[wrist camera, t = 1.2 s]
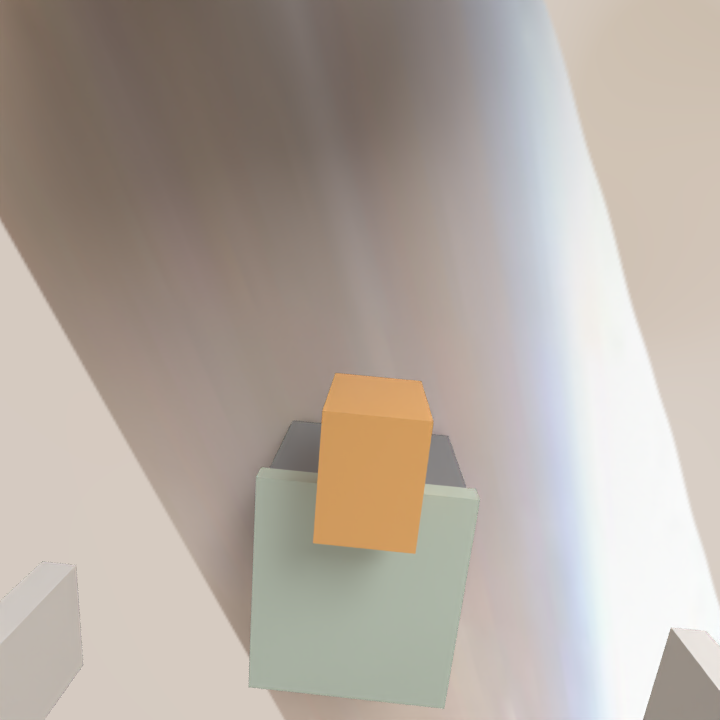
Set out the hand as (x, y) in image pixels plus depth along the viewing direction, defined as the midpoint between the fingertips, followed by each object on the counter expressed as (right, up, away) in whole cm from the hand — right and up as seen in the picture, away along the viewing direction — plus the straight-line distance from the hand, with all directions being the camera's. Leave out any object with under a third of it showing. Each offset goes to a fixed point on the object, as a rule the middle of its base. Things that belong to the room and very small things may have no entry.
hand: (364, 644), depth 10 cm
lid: (0, -3, +14) cm, 15 cm away
